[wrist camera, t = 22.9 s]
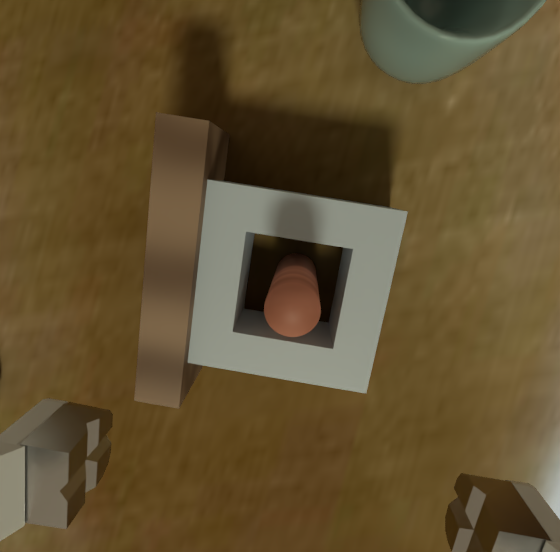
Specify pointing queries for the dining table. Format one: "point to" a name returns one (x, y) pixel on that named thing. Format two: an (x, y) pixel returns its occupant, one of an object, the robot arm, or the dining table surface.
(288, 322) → the sausage
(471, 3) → the cup
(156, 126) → the walnut wall
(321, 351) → the holed block
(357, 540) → the dining table surface
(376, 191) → the dining table surface
